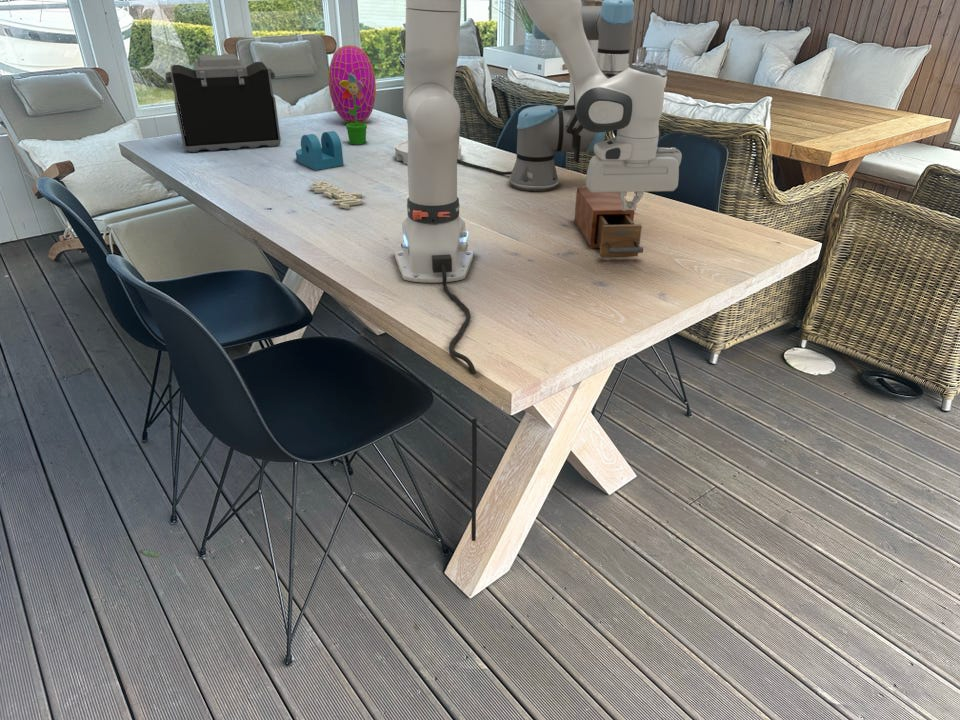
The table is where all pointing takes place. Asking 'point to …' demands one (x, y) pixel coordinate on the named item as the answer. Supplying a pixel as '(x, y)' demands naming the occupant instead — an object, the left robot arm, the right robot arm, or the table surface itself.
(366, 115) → the decorative egg
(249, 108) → the electronic device
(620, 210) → the cabinet
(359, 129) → the potted flower
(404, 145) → the ashtray
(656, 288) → the table surface
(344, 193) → the decorative sign
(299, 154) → the camera mount
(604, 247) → the drawer
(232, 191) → the table surface
